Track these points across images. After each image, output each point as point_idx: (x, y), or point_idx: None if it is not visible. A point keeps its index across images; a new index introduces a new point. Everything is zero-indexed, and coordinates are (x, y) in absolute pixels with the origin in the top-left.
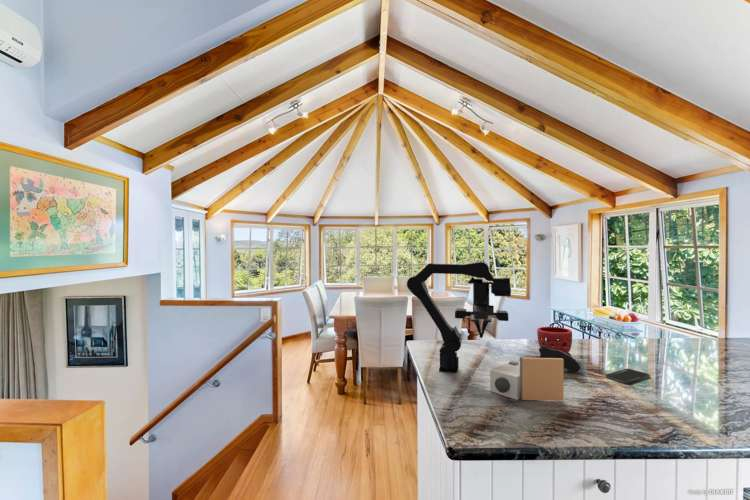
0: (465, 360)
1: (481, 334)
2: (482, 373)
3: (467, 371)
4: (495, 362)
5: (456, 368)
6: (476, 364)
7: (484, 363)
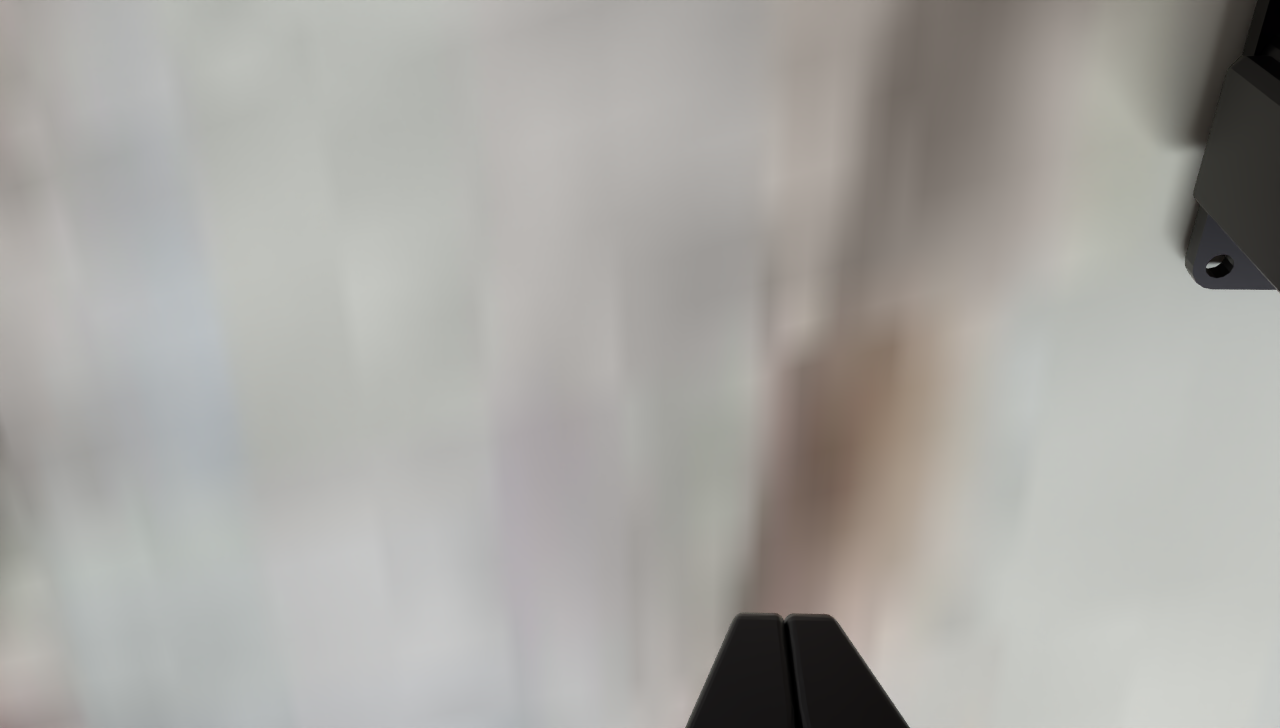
0: (983, 608)
1: (784, 714)
2: (714, 74)
3: (1009, 103)
4: (513, 623)
5: (1277, 55)
6: (811, 485)
7: (679, 553)
